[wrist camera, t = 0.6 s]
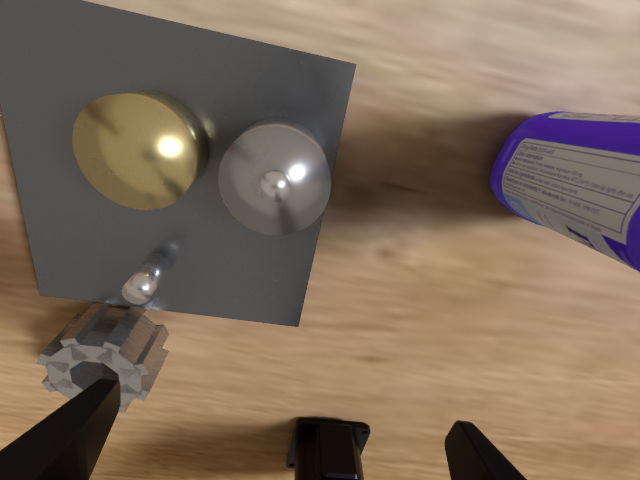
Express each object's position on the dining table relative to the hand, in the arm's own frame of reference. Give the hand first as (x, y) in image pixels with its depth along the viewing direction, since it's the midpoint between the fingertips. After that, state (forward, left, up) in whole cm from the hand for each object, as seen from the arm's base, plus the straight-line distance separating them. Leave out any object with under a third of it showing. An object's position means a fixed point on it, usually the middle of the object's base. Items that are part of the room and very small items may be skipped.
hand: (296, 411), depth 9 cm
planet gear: (-11, +11, -13) cm, 20 cm away
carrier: (+1, +7, -13) cm, 15 cm away
